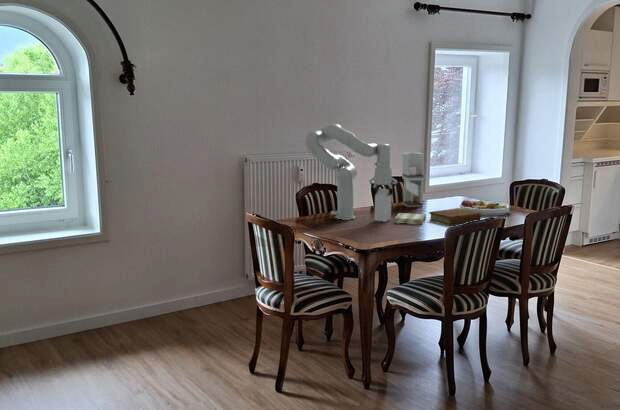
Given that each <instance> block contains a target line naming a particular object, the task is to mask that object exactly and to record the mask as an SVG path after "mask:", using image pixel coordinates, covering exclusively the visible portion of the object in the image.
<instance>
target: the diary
mask: <svg viewBox="0 0 620 410" xmlns="http://www.w3.org/2000/svg"><path fill="white" fill-rule="evenodd" d="M429 215H430V219H429V220H430V222H433V221H434V223H437V222H438V223H437V224H441V225H445V226H449V227H453V226H458V224H460V225H464V224H463V223H466V222H470V221H474V220H480V219H482V216H481V214H480V213H479V212H474V211H469V210H464V209H460V207H458V208H456V207H455V208H450V209H448V208H447V209H441V210H435V211H429ZM466 224H467V223H466Z"/></svg>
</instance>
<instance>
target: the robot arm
mask: <svg viewBox="0 0 620 410" xmlns="http://www.w3.org/2000/svg"><path fill="white" fill-rule="evenodd" d="M332 140H333V141H335V142H336V143H339V144H341V145H343V146H345V147H347V148H348V149H350V150H351V151H353V152H355V153H357V154H358V155H361V156H363V157H365V158H371V157H374V156H376V162H374V166H376V167H374V175H373V177H372V178H371V179H369V180H368V181H369V184H370V185H371V187H372V188H373V193H374V196H375V195H376V193H377V191H378V188H377V186H378V185H379V186H388V187H389V192H390V194H389V195H391V196H392V194H393V188H394V187H395V186H396V185H397V184H398V180H397V179H395V178H393V173H392V171H393V170H392V167H391V163H390V162H391V145H390V144H389V143H376V142H375V143H373V142H370V143H368V142H365V141H362V140H361V139H359V138H357V136H356V135H355V134H354V133H353V132H351V131H350V130H346V129H345V128H343V127H342V125H340V124H339V123H331V124H328V125H327V126H325V127H322V128H319V129H314V130H311V131H309V132H308V133H306V135H305V139H304V144H305V148H306V150H307V151H308V153H310V155H312V157H313V158H315V159H316V160H317V161H318V162H319V163H320V164H322V165H323V166H324V167H325V168H326V169H327V170H329V171H336V175H335V177H336V185H337V191H336V192H337V210H335V211H334V210H331V211H330V215H332V216H334V215H335V216H334V219H335V218H337V219H336V220H338V219H342V220H341V221H352V220H351V219H353V220H355V218H356V219H357V216H356V215H354V184H353V180H354V179H355V178H356V177H357V176H358V170H357V168H356V167H355V166H354V165H353V164H352V163H351V162H349V160H348V159H347V158H345V157H344V156H342V155H341V154H340V153H332V152H330V150H329V149H327V148H326V147H325V146H323V143H325V142H329V141H332ZM392 183H393V184H392Z"/></svg>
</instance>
